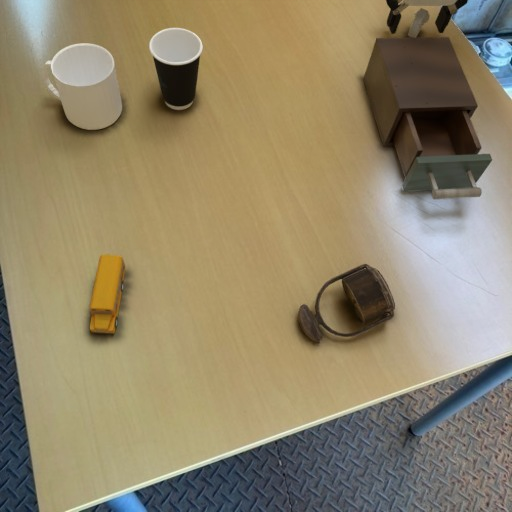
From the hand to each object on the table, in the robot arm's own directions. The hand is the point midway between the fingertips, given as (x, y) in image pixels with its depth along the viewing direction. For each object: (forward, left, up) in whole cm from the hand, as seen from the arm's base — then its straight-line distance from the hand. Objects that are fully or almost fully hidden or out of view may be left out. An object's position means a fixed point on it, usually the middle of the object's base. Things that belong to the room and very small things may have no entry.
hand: (415, 28), depth 103 cm
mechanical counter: (+25, +55, -2) cm, 60 cm away
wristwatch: (0, 0, -2) cm, 2 cm away
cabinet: (+6, +19, -1) cm, 20 cm away
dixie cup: (+45, +15, -2) cm, 47 cm away
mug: (+60, +16, -2) cm, 62 cm away
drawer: (+6, +32, -1) cm, 32 cm away
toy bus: (+56, +51, -2) cm, 76 cm away
